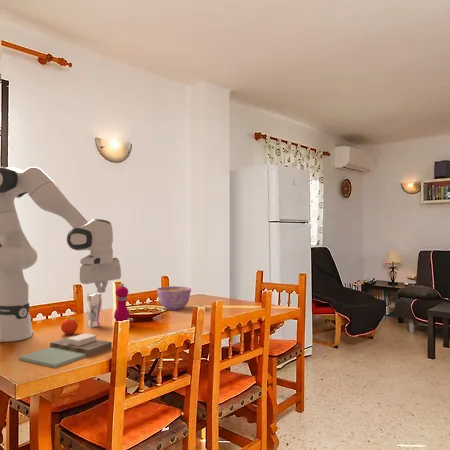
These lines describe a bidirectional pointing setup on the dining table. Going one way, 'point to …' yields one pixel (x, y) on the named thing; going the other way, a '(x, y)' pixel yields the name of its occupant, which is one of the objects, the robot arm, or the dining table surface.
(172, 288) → the bowl of food
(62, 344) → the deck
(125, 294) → the pepper mill
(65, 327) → the tomato
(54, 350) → the mat
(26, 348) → the dining table surface
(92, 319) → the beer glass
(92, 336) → the white rectangular block
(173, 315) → the dining table surface
